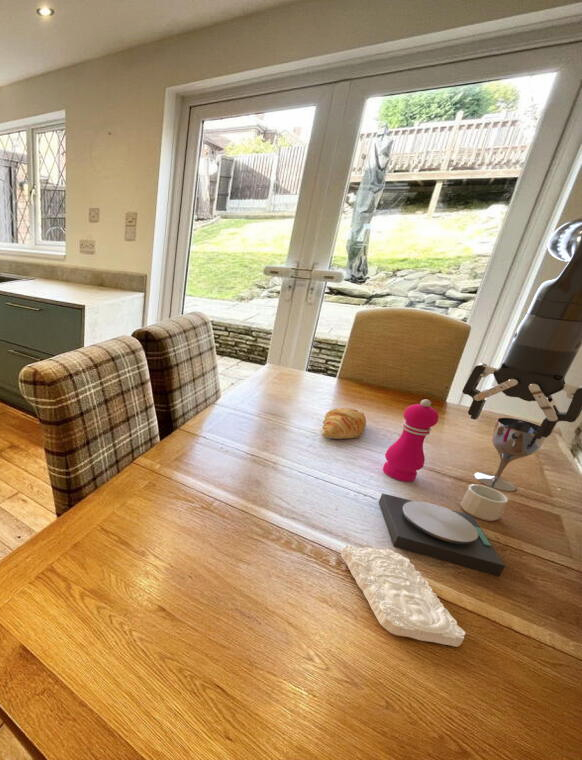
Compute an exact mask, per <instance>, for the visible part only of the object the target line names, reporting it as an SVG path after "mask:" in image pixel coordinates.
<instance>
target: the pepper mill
mask: <svg viewBox="0 0 582 760" xmlns="http://www.w3.org/2000/svg"><path fill="white" fill-rule="evenodd" d="M431 405H432V401H431V400H430V399H422V400H421V401H420V403H416V404H411V405H409V406H407V407H406V408H405V410H404V412H403V418H404V421H403V422H402V425H401V428H402V433H401V434H400V436H399V438H398V439H397V440H395V441H394V442H393V443H392V444H391V445H390V446H389V447H388V448H387V450H386V452H385V454H384V457H385V460H386V461H385V462H384V464H383V467H382V471H383V472H384V474H386V475H387V476H389V477H391V478H392V479H394V480H398V481H401V482H408V483H411V482H413V481H415V480H416V478H417V475H418V472H417V471H420V470H422V468H423V467H424V466H425V460H426V459H425V457H426V456H425V453H424V441H425V439H426V436H428V435H430V434H431V431H432V428H431V427H434V426H435V425H437V424H438V422H439V418H440V416H439V413H438V411H437V410H436V409H435V408H433V407H432V406H431Z"/></svg>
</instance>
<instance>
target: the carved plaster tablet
mask: <svg viewBox="0 0 582 760" xmlns="http://www.w3.org/2000/svg"><path fill="white" fill-rule="evenodd" d="M340 557H341V558H342V561H344V563H345V564H346V566H347V568H348V570H349V571H350V573H351V575H352V577H353V579H355V582H356V584H357V586H358V588H359V589H360V590H361V591H362V593H363V595H364V597H365V599H366V600H367V602H368V604H369V606H370V608H371V610H372V612H373V613H374V615H375V618H376V619H377V621H378V623H379V624H380V626H381V627H383V629H385V630H386V631H387V632H388V633H390V634H392V635H394V636H399V637H407V638H411V639H414V640H417V641H421V642H430V643H435V644H440V645H447V646H451V647H456V648H457V647H460V646H461V645H462V643H463V641H464V640H465V636H466V631H465V630H464V629H463V628H462V627H460V626H459V625H458V621H457V620H456V618H454V617H453V615H451V613H450V612H449V610H448V609H447V608H445V606H444V604H443V603H442V602H441V600H440V598H438V596H437V593H435V592H433V591H434V590H433V588H432V587H431V586H430V583H429V582H428V580H427V579H426V578H425V579H424V578H423V577H422V573H421V572H420V571H419V570H416V566H415V565H414V564H413V563H411V562H410V559H409V558H408V557H406V556H404V555H402V554H401V553H398V552H395V551H393V550H392V549H389V548H386V549H379V548H375V547H368V546H365V547H364V546H363V548H362V547H356V546H353V545H351V544H346V545H345V546H344V547H343V548H342V551H341V553H340Z"/></svg>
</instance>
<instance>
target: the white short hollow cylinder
mask: <svg viewBox="0 0 582 760" xmlns="http://www.w3.org/2000/svg"><path fill="white" fill-rule="evenodd" d="M508 502H509V498H508V496H507V495H505V494H504V493H502V492H501V491H500V490H498V489H496V488H493V487H490V486H488V485H484V484H483V485H482V484H478V483H477V484H476V483H472V484H469V485H468V486H467V488H466V491H465V492H464V495H463V497H462V498H461V501H460V506H461V508H462V509H463V511H464V512H466V514H469V515H473V517H474V518H475V519H476V518H477V519H479V520H483V521H486V522H487V521H488V522H493V521H497V520H499V519H500V517H501V515H502V514H503V511H504V510H505V508H506V507H507V504H508Z"/></svg>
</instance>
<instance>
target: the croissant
mask: <svg viewBox="0 0 582 760" xmlns="http://www.w3.org/2000/svg"><path fill="white" fill-rule="evenodd" d="M322 423H323V426H322V431H321V435H322V437H324V438H326V439H327V438H328V439H335V440H341V439H352V438H354V439H356V438H359V437H360V435H361V434H362V432H364V430H365V429H366V426H367V418H366V416H365V413H363V412H360V411H359V410H357V409H353V408H348V407H347V408H346V407H340V408H334V409H331V410H329V411H327V412H326V413H325V415H324V420H323V421H322Z"/></svg>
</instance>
